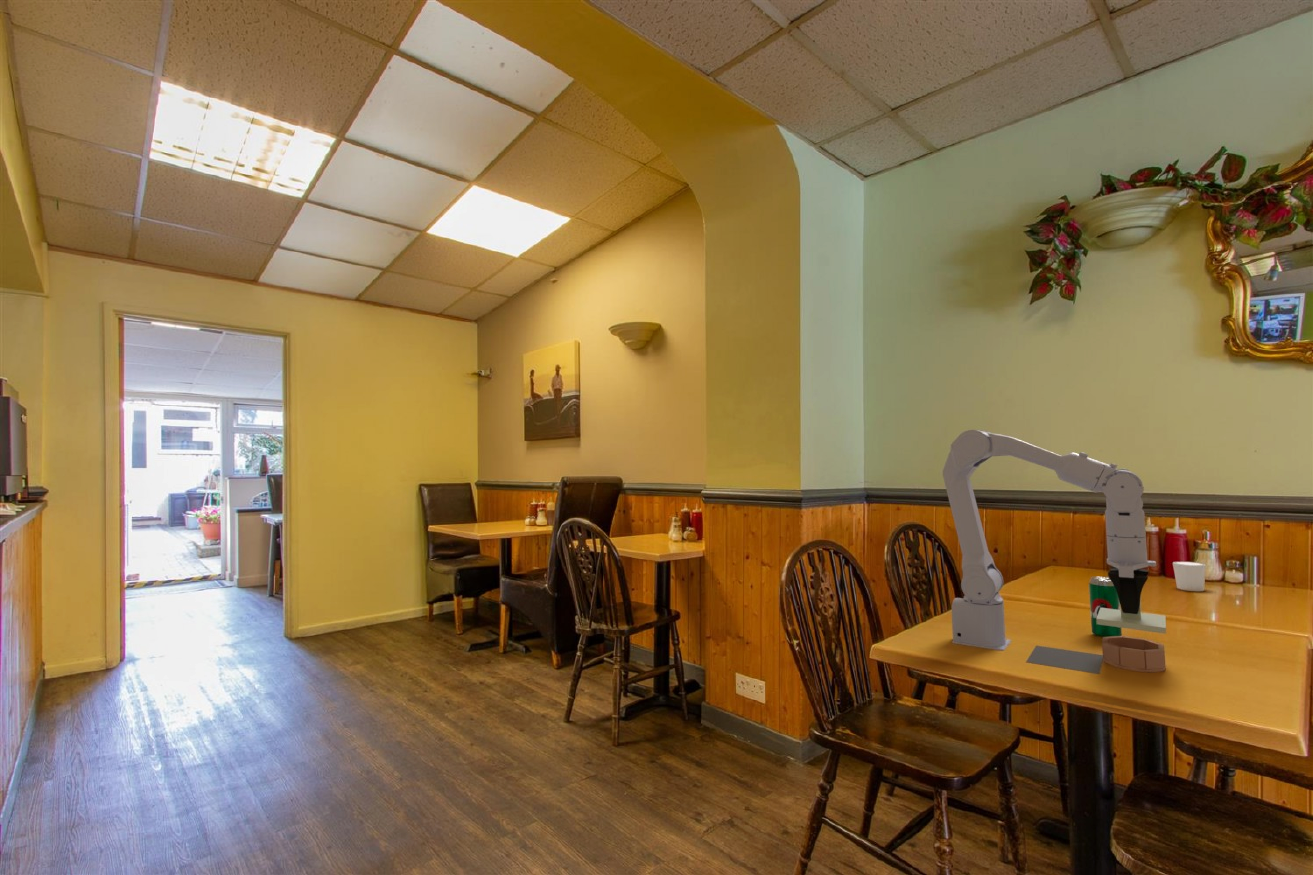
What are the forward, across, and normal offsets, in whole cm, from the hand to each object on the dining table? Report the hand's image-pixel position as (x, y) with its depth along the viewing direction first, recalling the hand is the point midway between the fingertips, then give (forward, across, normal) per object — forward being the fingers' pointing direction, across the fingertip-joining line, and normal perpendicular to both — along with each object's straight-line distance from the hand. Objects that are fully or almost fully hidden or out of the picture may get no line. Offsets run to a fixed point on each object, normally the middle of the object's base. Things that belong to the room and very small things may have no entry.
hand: (1130, 611), depth 110 cm
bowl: (+10, 0, 0) cm, 10 cm away
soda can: (+10, +18, +5) cm, 22 cm away
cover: (+2, 0, 0) cm, 2 cm away
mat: (+10, -4, +10) cm, 14 cm away
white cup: (+10, +82, -10) cm, 83 cm away
